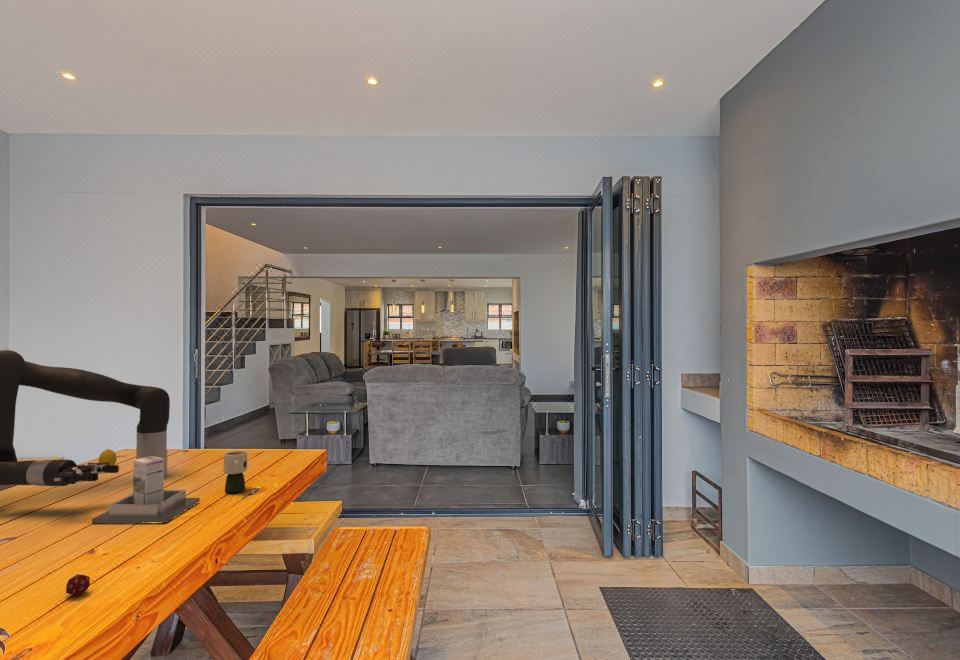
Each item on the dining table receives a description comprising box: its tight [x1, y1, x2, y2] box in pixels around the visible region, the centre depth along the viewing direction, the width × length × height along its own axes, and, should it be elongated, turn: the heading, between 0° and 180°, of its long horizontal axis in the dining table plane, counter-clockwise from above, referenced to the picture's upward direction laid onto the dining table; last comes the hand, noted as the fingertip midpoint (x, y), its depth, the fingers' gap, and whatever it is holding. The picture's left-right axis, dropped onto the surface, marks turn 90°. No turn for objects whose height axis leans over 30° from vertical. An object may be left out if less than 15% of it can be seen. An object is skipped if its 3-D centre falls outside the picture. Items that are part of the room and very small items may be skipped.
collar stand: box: [91, 489, 201, 524], centre depth 149 cm, size 18×20×4 cm
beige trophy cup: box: [223, 450, 248, 493], centre depth 169 cm, size 11×7×13 cm, turn 30°
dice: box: [65, 573, 91, 597], centre depth 102 cm, size 4×4×4 cm
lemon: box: [98, 448, 117, 465], centre depth 194 cm, size 6×6×8 cm
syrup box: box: [132, 456, 165, 504], centre depth 148 cm, size 6×6×14 cm
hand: (108, 472), depth 148 cm, fingers open, 8 cm apart
